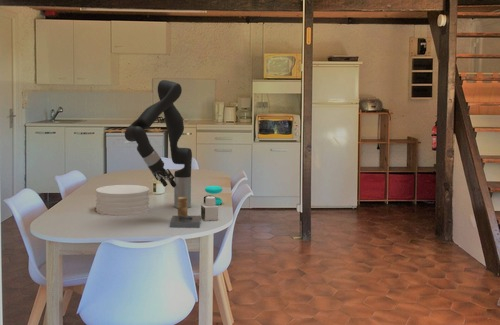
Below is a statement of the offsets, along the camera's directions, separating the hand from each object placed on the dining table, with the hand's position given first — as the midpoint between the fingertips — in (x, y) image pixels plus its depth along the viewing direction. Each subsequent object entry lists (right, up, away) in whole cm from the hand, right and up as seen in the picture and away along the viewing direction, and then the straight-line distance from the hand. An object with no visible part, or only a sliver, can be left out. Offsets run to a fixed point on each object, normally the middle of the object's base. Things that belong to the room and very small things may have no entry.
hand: (170, 186), depth 282 cm
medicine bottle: (+20, -17, +3) cm, 26 cm away
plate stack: (-29, -14, +22) cm, 39 cm away
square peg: (+5, -16, +7) cm, 18 cm away
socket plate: (+9, -18, -8) cm, 22 cm away
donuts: (+19, -12, +42) cm, 48 cm away
